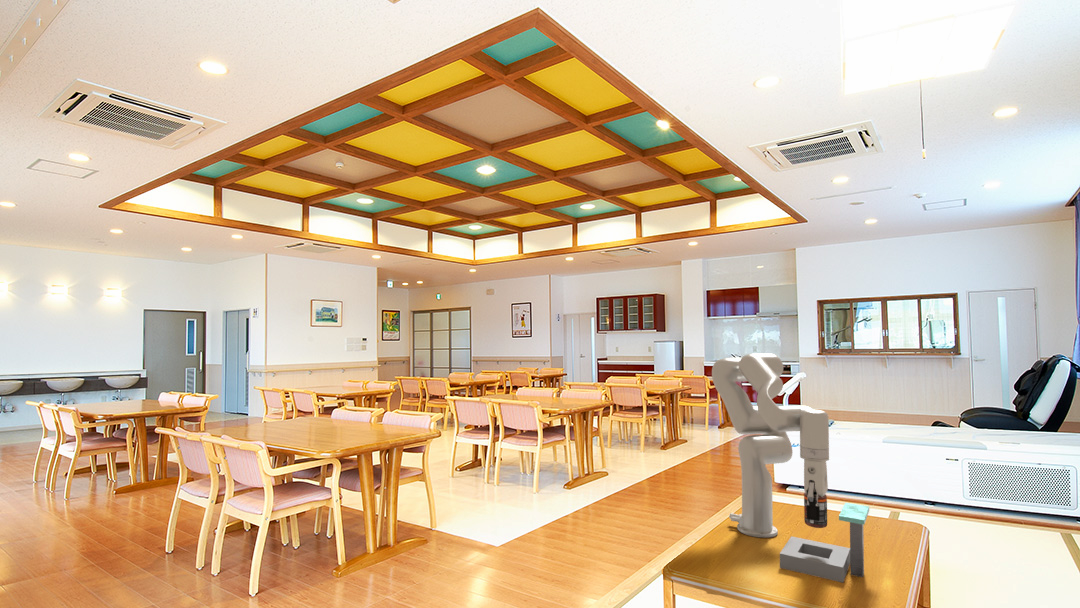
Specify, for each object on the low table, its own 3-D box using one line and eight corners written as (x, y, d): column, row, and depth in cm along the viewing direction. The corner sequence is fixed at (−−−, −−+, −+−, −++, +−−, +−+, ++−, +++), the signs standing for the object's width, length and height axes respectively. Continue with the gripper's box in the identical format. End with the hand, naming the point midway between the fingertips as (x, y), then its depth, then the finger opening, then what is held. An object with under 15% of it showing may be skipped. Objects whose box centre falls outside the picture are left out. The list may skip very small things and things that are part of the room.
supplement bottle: (803, 520, 167) (802, 481, 168) (825, 522, 166) (825, 483, 166) (805, 527, 162) (805, 487, 162) (828, 529, 160) (828, 489, 160)
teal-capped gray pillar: (839, 580, 154) (838, 515, 154) (846, 562, 165) (845, 502, 166) (865, 586, 150) (864, 520, 151) (869, 567, 162) (869, 506, 162)
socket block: (779, 567, 161) (779, 553, 162) (791, 549, 175) (791, 536, 175) (843, 582, 152) (843, 567, 152) (850, 562, 166) (850, 548, 166)
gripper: (824, 460, 155) (825, 527, 155) (833, 449, 169) (834, 511, 169) (794, 457, 160) (795, 522, 159) (805, 446, 174) (806, 506, 173)
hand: (815, 515), depth 164 cm, fingers closed on supplement bottle, 6 cm apart
